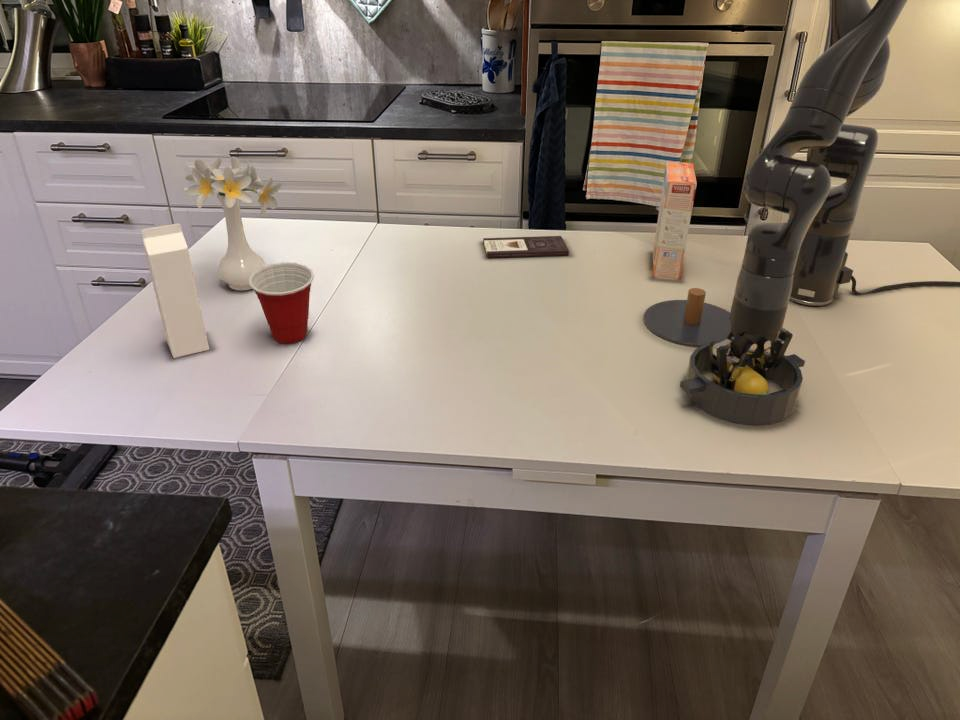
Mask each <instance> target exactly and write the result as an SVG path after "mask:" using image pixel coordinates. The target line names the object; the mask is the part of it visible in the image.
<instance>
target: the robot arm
mask: <svg viewBox="0 0 960 720" xmlns="http://www.w3.org/2000/svg"><path fill="white" fill-rule="evenodd" d="M908 1H909V0H877V1H876V3H875V4H874V6H873V7H872V8H871V6H870V4H869V2H868V0H829V6H828V7H829V8H828V14H829V15H828V22H827V31H826V36H825V42H824V48H823V51H822V53H821V54H820V56H818V57H817V58H816V60H815V61H814V62H813V63H812V64H811V65H810V67H809V68H808V69H807V70H806V72H805V74H804V75H803V77H802V78H801V81H800V83H799V85H798V88H797V90H796V92H795V94H794V97H793V99H792V101H791V104H790V106H789V109H788V111H787V114H786V116H785V118H784V119H783V122H782V123H781V124H780V126H779V128H778V129H777V130H776V132H775V133H774V135H773V136H772V137H771V139H770V140H769V141H768V143H767V144H766V146H765V147H764V148H763V149H762V150H761V152H760V153H759V154H758V155H757V157H756V158H755V159H754V161H753V162H752V163H751V165H750V167H749V169H748V170H747V172H746V175H745V178H744V183H743V192H744V196H745V198H746V200H747V202H748V203H750V204H751V205H752V206H756V207H758V208H762V209H767V210H771V211H776V212H778V213H784V214H787V215H789V216H788V220H787V221H786V222H764V223H758V224H756V225H754V226H753V227H752V228H751V229H750V231H749V233H748V235H747V239H746V244H745V249H744V254H743V259H742V264H741V268H740V270H739V273H738V275H737V279H736V284H735V287H734V294H733V299H732V303H731V307H730V311H729V312H730V317H729V320H730V324H731V330H730V332H729V334H728V335H727V338H726V340H724V341H722V342H720V343H717V342H716V341H712V342H711V343H710V345H709V348H710V368H711V370H710V372H711V373H712V375H713V374H714V375H716V376H717V377H718V378H719V379H720V383H719V382H718V384H719V386H721V387H723V388H726V389H729V390H733V391H734V387H735V382H736V380H735V379H736V377H737V375H738V373H739V371H740V370H741V369H744V368H745V366H746V364H747V362H748V360H750V359H752V360H753V365H754V366H755V367H752V368H751V369H753V370H754V371H756V372H757V373H758V374H760V375H761V376H762V377H763V378H765V379H766V377H765V375H766V373H767V372H769V370H770V368H771V367H774V368H776V367H778V366H779V364H780V362H781V360H782V358H783V356H784V355H785V354H786V352H787V349H788V347H789V346H790V345H789V344H790V343H791V340H792V338H793V333H791V332H790V331H789V330H788V329H786V328H784V327H783V326H784V323H785V319H786V314H787V311H788V306H789V303H790V301H791V302H794V303H796V304H799V305H803V306H810V307H811V306H812V307H818V306H819V307H821V306H827V305H830V304H831V303H832V302H833V300H834V299H837V295H838V292H839V288H840V285H844V284H848V283H851V292H852V294H854V295H855V296H864V295H871V294H876V293H878V292H881V291H884V290H890V289H897V288H903V287H904V288H905V287H913V286H939V285H940V286H943V285H944V286H960V281H948V280H947V281H945V280H942V281H941V280H929V281H927V280H926V281H912V282H903V283H896V284H889V285H883V286H880V287H877V288H874V289H872V290H870V291H867V292H859V291H857V289H856V288H857V279H856V278H855V276H854V275H853V273H854V269H852V268H849V267H848V266H846V264H847V260H848V257H849V253H848V252H847V251H846V250H847V247H848V244H849V241H850V237H851V234H852V230H853V226H854V223H855V219H856V216H857V212H858V208H859V204H860V201H861V197H862V193H863V191H864V190H863V189H864V187H865V184H866V181H867V179H868V175H869V172H870V169H871V166H872V163H873V161H874V158H875V155H876V152H877V147H878V142H879V133H878V130H877V129H876V128H874V127H871V126H866V125H857V124H849V123H845V120H846V119H847V118H848V117H849V116H851V115H852V114H854V113H855V112H856V111H858V110H859V109H861V108H862V107H864V106H865V105H866V104H868V103H869V102H870V101H871V100H872V99H873V98H874V97H875V96H876V95H877V94H878V92H879V91H880V90H881V88H882V87H883V84H884V81H885V77H886V72H887V69H888V65H889V60H890V57H891V45H890V40H889V38H888V37H889V34H890V33H891V31H892V29H893V27H894V26H895V24H896V22H897V20H898V19H899V17H900V16H901V13H902V11H903V9H904V7H905V6H906V5H907V2H908ZM803 150H807V153H806V160H804V159H798V158H794V157H793V156H795V154H797V153H799V152H800V151H803ZM831 178H836V179H843V180H845V182H843V183H841V184H840V185H837V186H834V187H831V186H832V179H831ZM774 350H775V351H776V355H775V357H772V355H773V352H774ZM734 355H735V356H736V357H738V358H739V359H740V360H739V361H738V360H737V359H736V358H734ZM731 365H733V368H732V370H731V371H729V368H730V366H731Z"/></svg>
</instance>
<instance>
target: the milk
mask: <svg viewBox="0 0 960 720" xmlns="http://www.w3.org/2000/svg"><path fill="white" fill-rule="evenodd" d="M140 232H141V237H142V246H143V250H144V254H145V259H146V263H147V266H148V270H149V274H150V278H151V282H152V286H153V290H154V294H155V298H156V302H157V307H158V311H159V315H160V319H161V323H162V327H163V331H164V334H165V340H166V343H167V345H168V348H169V351H170V353H171V355H172V358H174V359H176V358H180V357H184V356H188V355H194V354H198V353H200V352H206V351H209V350H210V346H209V341H208V337H207V332H206V326H205V321H204V317H203V312H202V307H201V304H200V299H199V294H198V290H197V284H196V279H195V276H194V270H193V266H192V261H191V256H190V251H189V247H188V245H187V241H186V239H185V235H184V233H183V229H182V225H181V223H173V224H167V225H160V226H155V227H148V228H143V229H141V231H140Z"/></svg>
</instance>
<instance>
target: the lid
mask: <svg viewBox="0 0 960 720" xmlns="http://www.w3.org/2000/svg"><path fill="white" fill-rule="evenodd" d="M706 294H707V292H706V290H704V289H702V288H699V287H693V288H692V287H691V288H689V289H688V292H687V298H686V299H671V300H664V301H660V302H656V303H655V304H652V305H651V306H649V307H648V308H646V310H645V311H644V314H643V324H644V326H645V327H646V328H647V329H648V330H649V331H650V332H651V333H652V334H654V335H655V336H657V337H659V338H661V339H663V340H665V341H668V342H671V343H673V344H677V345H681V346H686V347H695V348H699V347H700V346H702V345H704V344H707V343H711V342H712V341H724V340H726V338H727V335H728V334H729V332H730V330H731V324H730V320H729V317H730V312H731V311H728V310H727V309H725V308H722V307H720V306H717V305H715V304H712V303H708V302H705V300H706Z"/></svg>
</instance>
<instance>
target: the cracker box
mask: <svg viewBox="0 0 960 720" xmlns="http://www.w3.org/2000/svg"><path fill="white" fill-rule="evenodd" d="M697 184H698V183H697V177H696V173H695V165H694V163H691V162H680V161H666V163H665V169H664V175H663V181H662V187H661V195H660V202H659V209H658V215H657V222H656V228H655V236H654V242H653V247H652V248H653V249H652V277H653V278H657V279H668V280H681V275H682V272H683V271H682V269H683V264H684V260H685V259H684V258H685V254H686V247H687V242H688V235H689V231H690V230H689V229H690V225H691V218H692V213H693V209H694V208H693V206H694V201H695V197H696V191H697V187H698V186H697Z"/></svg>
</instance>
